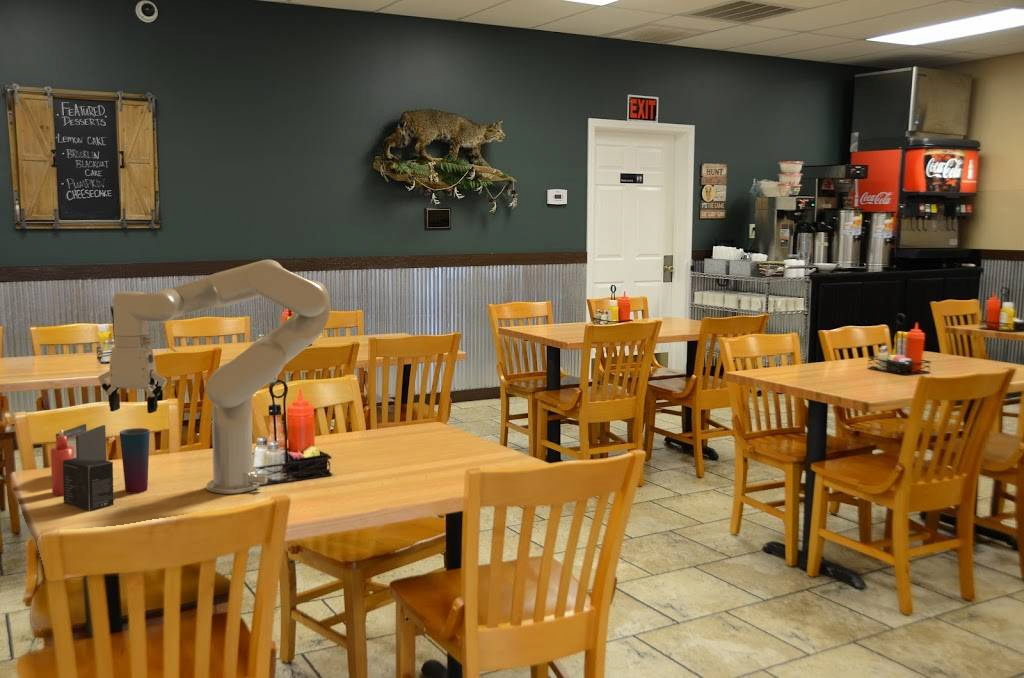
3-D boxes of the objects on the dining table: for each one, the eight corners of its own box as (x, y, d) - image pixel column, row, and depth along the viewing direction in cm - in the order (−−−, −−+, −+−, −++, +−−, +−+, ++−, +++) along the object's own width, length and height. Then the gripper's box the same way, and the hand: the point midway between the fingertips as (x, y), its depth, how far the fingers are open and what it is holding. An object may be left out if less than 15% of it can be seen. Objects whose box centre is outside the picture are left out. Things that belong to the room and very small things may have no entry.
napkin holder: (106, 470, 236) (105, 425, 234) (79, 483, 224) (77, 435, 222) (85, 469, 236) (84, 424, 235) (57, 481, 225) (55, 434, 223)
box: (115, 504, 208) (113, 461, 206) (89, 511, 202) (87, 467, 201) (88, 496, 213) (87, 454, 212) (62, 503, 208) (60, 460, 206)
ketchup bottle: (79, 490, 218) (77, 428, 216) (67, 496, 213) (64, 433, 211) (60, 489, 219) (58, 427, 217) (47, 495, 214) (45, 432, 212)
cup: (140, 495, 215) (138, 435, 213) (115, 493, 216) (113, 433, 214) (156, 487, 222) (155, 429, 220) (132, 485, 223) (130, 427, 221)
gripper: (172, 341, 217) (174, 409, 219) (106, 339, 219) (109, 406, 221) (157, 345, 210) (159, 416, 212) (88, 342, 212) (91, 412, 214)
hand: (133, 411), depth 217 cm, fingers open, 9 cm apart
